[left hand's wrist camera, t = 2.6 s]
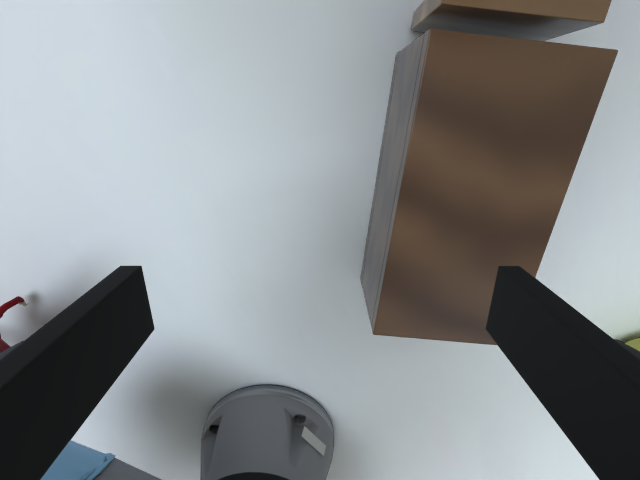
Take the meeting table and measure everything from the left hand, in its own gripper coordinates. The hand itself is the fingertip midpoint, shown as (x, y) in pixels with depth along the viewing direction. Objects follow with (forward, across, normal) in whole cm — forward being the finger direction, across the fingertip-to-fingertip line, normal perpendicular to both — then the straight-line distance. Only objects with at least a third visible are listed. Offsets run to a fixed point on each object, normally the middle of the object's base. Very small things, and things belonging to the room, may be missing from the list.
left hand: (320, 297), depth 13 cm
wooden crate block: (+18, -10, 0) cm, 21 cm away
